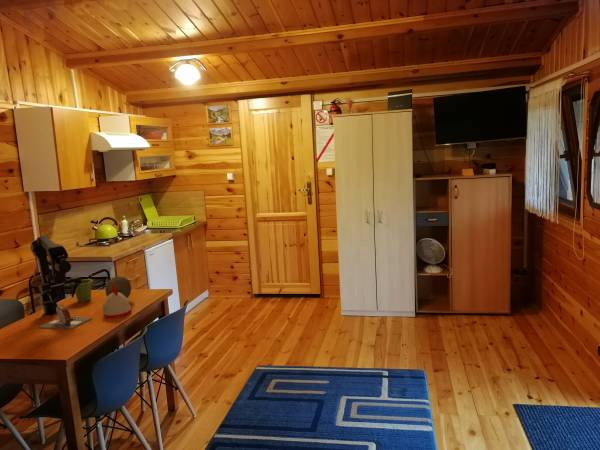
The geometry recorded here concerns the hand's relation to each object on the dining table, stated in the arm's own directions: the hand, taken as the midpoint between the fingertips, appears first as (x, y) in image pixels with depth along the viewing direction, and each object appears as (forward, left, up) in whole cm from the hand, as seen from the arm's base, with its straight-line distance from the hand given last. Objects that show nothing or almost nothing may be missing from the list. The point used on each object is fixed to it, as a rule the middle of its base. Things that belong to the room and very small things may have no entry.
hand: (63, 300), depth 237 cm
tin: (+1, -2, -11) cm, 11 cm away
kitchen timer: (+20, +14, -12) cm, 27 cm away
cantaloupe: (+9, +31, -12) cm, 35 cm away
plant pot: (-18, +34, -12) cm, 41 cm away
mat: (+1, -2, -12) cm, 12 cm away
